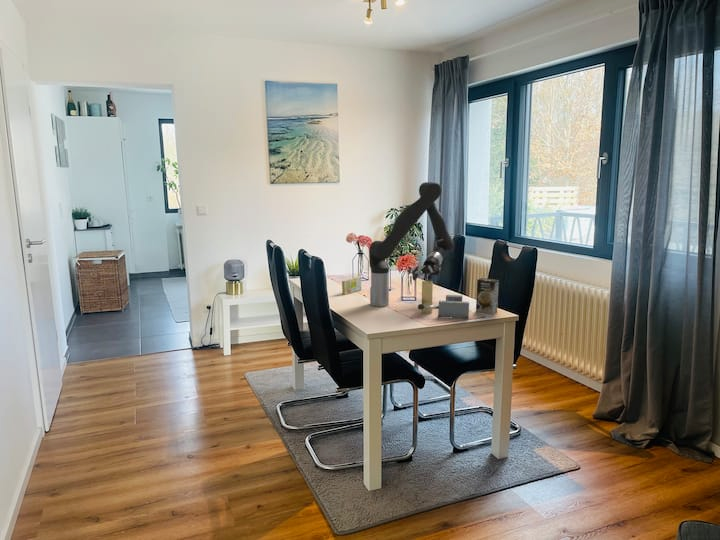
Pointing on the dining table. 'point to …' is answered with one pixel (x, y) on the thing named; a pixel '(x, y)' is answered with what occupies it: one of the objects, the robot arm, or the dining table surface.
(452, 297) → the moving jaw
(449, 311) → the vise
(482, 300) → the coffee box
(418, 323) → the dining table surface
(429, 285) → the brass block
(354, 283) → the candy box
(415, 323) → the dining table surface
